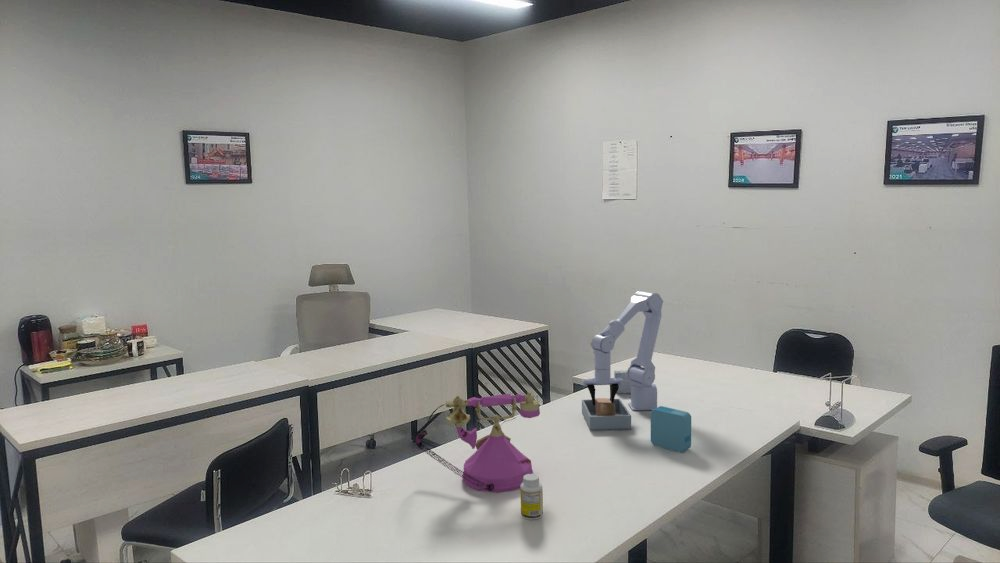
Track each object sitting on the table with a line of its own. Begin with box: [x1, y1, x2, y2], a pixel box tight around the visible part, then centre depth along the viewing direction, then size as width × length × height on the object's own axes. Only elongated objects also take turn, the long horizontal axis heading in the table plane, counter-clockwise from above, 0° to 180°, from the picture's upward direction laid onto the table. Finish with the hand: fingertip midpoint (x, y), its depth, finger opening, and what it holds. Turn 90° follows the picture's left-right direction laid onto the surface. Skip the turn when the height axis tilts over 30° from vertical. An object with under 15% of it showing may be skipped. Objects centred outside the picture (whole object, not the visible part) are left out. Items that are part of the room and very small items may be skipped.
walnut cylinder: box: [601, 403, 615, 416], centre depth 224 cm, size 5×5×7 cm
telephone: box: [415, 391, 541, 494], centre depth 181 cm, size 36×22×25 cm, turn 100°
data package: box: [650, 405, 692, 454], centre depth 203 cm, size 12×4×12 cm, turn 45°
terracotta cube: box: [595, 397, 612, 416], centre depth 235 cm, size 5×5×5 cm
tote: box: [581, 398, 632, 432], centre depth 229 cm, size 14×19×5 cm
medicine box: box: [613, 369, 631, 394], centre depth 263 cm, size 8×4×9 cm, turn 84°
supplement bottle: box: [519, 473, 544, 521], centre depth 161 cm, size 6×6×10 cm
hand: (602, 404), depth 234 cm, fingers open, 6 cm apart
